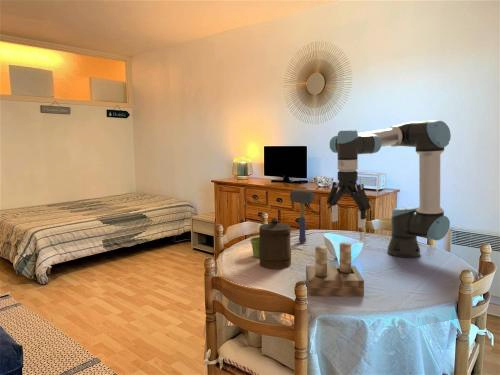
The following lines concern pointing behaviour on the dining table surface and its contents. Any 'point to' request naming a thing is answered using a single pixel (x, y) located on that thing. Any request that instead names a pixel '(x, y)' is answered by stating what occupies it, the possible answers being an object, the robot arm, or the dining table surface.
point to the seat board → (332, 278)
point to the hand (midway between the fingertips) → (347, 224)
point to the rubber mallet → (302, 208)
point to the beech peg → (345, 258)
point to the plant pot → (255, 246)
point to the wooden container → (275, 245)
